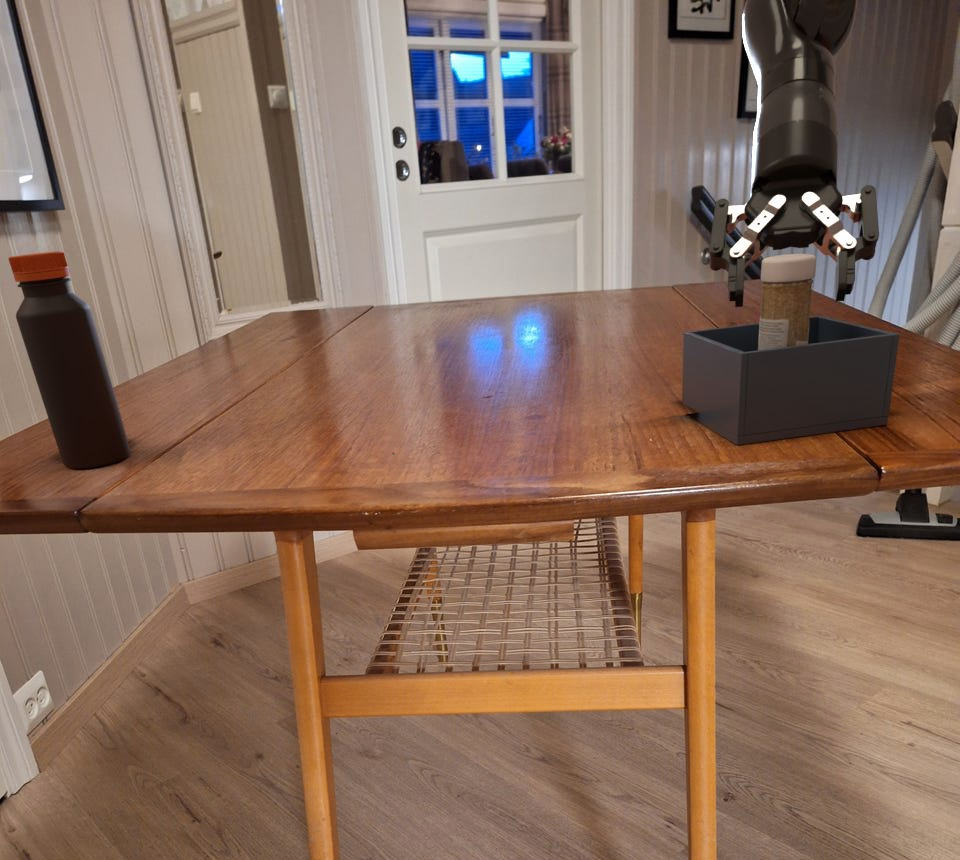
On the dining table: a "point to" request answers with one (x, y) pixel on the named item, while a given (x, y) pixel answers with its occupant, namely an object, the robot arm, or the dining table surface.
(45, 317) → the vinegar
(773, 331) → the sprinkles bottle
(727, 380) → the open storage bin
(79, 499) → the dining table surface
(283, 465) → the dining table surface
